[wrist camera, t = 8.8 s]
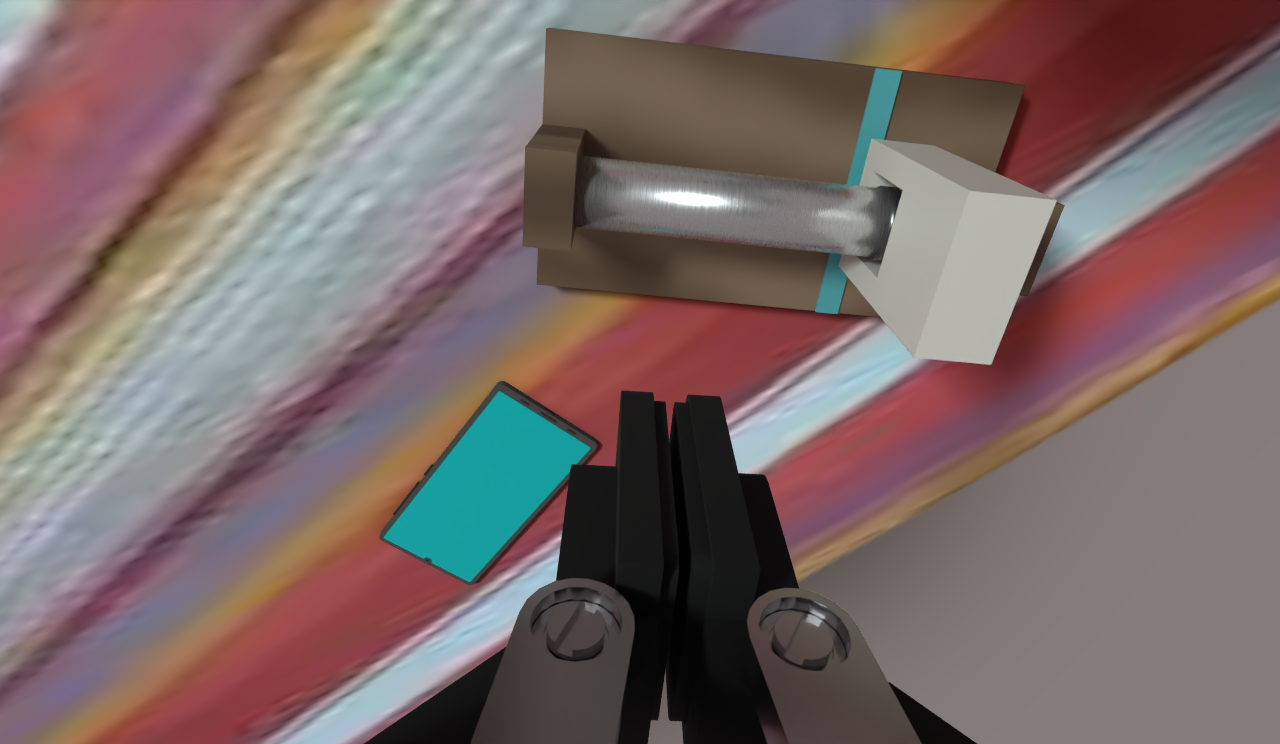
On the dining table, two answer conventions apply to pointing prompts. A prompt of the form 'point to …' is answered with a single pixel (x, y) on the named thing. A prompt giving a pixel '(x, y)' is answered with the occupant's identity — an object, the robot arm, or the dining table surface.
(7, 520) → the dining table surface
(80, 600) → the dining table surface
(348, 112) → the dining table surface
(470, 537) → the smartphone
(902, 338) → the collar
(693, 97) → the pipe rig
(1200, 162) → the dining table surface
